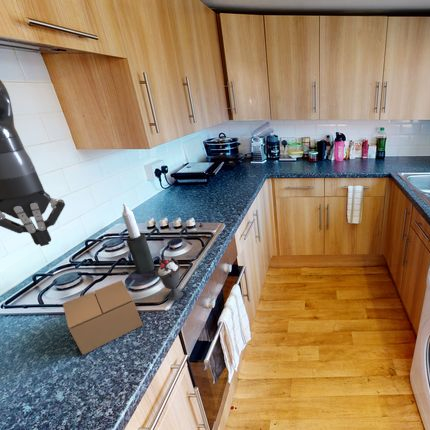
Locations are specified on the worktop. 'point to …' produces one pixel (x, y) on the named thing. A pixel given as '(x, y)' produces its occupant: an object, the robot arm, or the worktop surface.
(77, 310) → the carton flap
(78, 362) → the worktop surface
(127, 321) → the carton
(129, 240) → the candle
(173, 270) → the sundae
